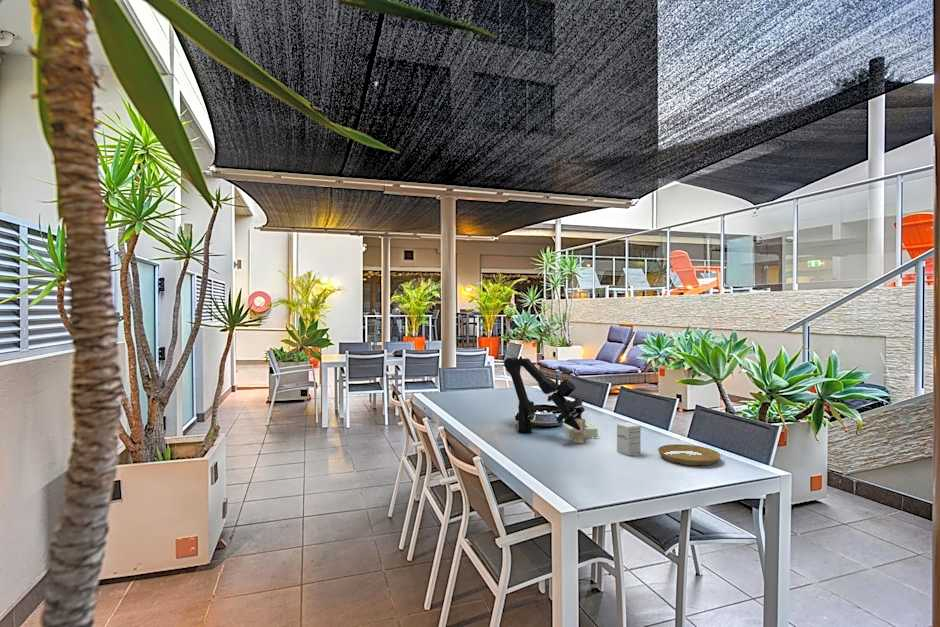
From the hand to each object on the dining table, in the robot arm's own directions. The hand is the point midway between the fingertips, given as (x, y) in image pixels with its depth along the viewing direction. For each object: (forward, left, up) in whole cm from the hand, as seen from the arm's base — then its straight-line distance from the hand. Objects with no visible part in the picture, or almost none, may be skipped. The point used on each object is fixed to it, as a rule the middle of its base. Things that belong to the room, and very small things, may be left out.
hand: (582, 429), depth 231 cm
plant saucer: (+38, -27, -7) cm, 47 cm away
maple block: (-1, +1, -7) cm, 7 cm away
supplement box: (+16, -17, -7) cm, 24 cm away
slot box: (+3, +15, -7) cm, 17 cm away
